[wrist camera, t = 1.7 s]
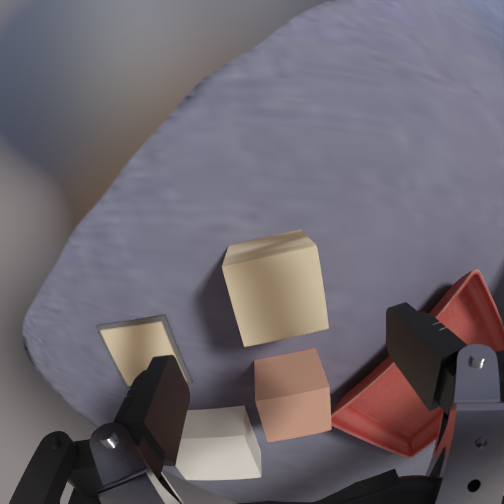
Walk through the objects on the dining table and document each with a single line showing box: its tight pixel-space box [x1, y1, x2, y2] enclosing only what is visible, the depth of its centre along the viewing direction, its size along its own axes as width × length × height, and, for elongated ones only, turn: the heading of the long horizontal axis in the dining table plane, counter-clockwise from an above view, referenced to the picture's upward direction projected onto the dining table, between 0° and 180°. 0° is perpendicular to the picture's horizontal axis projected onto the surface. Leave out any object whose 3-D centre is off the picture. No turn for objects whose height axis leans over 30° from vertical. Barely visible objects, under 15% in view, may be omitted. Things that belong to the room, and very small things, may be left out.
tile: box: [96, 315, 193, 388], centre depth 21 cm, size 7×7×1 cm
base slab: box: [175, 405, 261, 480], centre depth 22 cm, size 8×8×4 cm
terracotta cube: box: [254, 348, 332, 442], centre depth 20 cm, size 5×5×5 cm
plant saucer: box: [331, 269, 504, 458], centre depth 21 cm, size 18×18×3 cm
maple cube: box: [222, 230, 329, 347], centre depth 18 cm, size 5×5×5 cm
